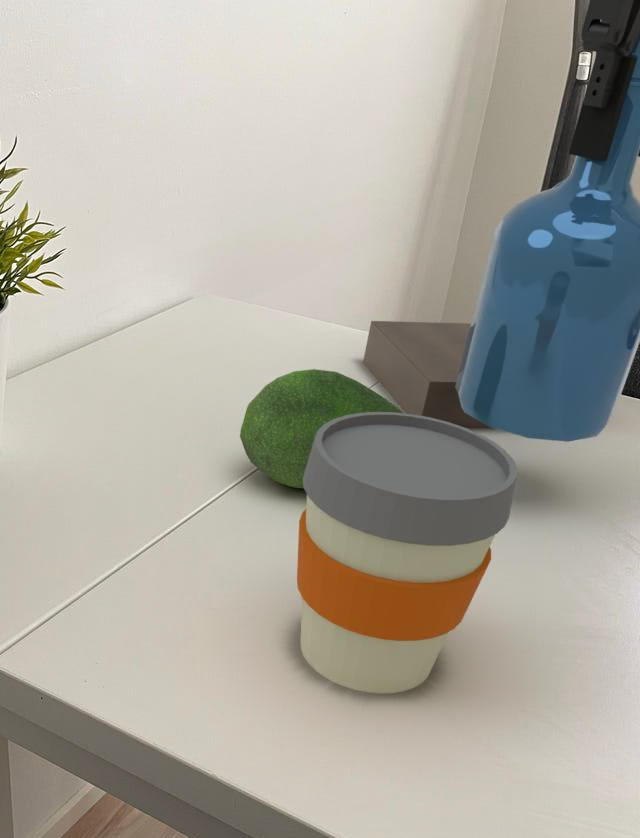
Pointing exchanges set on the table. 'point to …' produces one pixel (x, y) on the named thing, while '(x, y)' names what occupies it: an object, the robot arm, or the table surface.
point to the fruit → (300, 419)
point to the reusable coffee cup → (394, 543)
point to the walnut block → (420, 367)
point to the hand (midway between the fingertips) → (606, 154)
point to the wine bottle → (561, 300)
